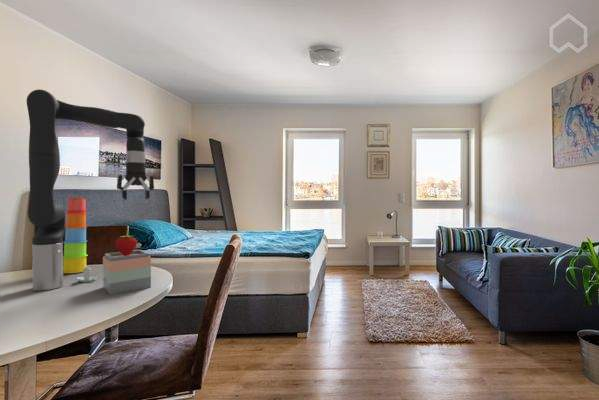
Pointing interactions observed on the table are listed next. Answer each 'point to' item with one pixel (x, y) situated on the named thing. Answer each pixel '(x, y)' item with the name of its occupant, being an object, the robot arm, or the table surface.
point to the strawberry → (126, 244)
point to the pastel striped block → (126, 271)
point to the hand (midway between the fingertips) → (136, 199)
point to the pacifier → (86, 276)
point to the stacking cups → (75, 236)
